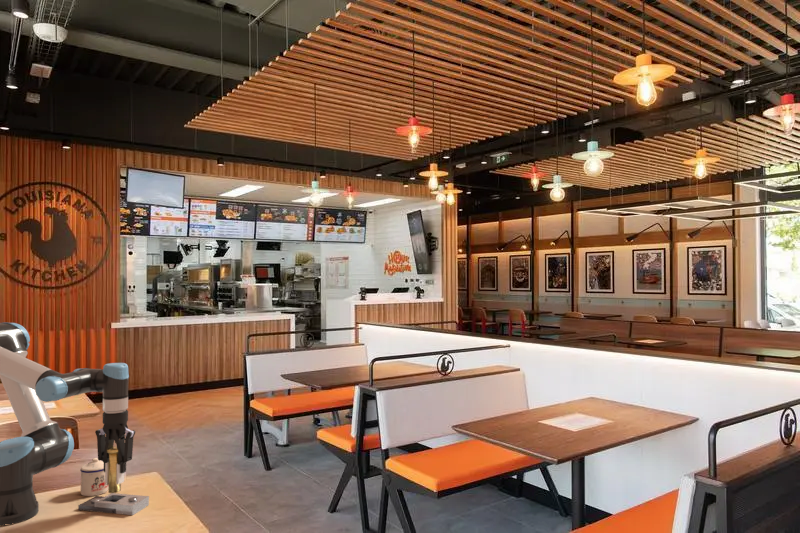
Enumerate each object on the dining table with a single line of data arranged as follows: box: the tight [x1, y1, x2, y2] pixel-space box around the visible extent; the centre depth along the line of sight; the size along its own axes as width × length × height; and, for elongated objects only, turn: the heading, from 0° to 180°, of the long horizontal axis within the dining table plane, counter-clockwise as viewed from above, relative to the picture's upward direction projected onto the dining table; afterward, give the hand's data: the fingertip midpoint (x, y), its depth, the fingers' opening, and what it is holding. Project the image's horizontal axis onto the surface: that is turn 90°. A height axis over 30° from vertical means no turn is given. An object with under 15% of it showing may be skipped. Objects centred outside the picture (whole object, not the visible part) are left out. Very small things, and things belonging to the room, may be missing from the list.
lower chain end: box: [77, 495, 118, 514], centre depth 184 cm, size 14×8×2 cm, turn 78°
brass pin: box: [107, 445, 122, 494], centre depth 184 cm, size 5×5×14 cm
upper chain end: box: [94, 492, 150, 516], centre depth 183 cm, size 14×8×4 cm, turn 78°
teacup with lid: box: [80, 457, 109, 497], centre depth 199 cm, size 12×9×12 cm
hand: (114, 482), depth 184 cm, fingers closed on brass pin, 3 cm apart
